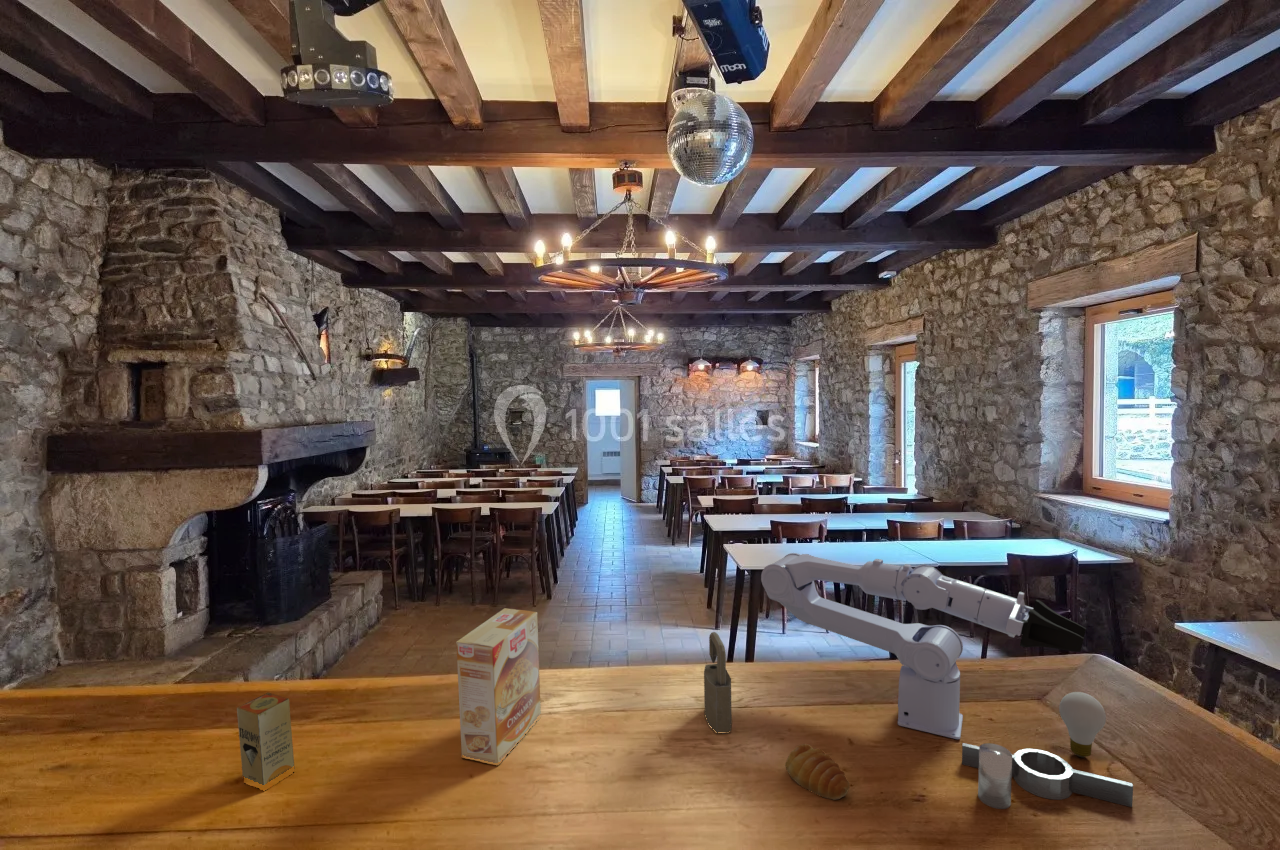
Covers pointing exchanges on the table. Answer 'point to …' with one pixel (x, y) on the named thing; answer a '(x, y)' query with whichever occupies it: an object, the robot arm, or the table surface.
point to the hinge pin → (995, 775)
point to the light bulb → (1082, 720)
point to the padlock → (717, 687)
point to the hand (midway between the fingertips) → (1083, 640)
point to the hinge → (1056, 777)
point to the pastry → (817, 772)
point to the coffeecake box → (498, 683)
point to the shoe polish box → (265, 738)
